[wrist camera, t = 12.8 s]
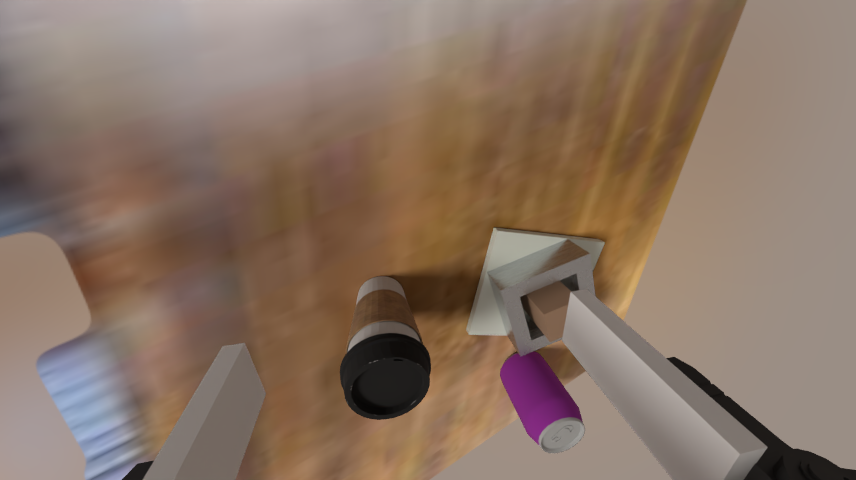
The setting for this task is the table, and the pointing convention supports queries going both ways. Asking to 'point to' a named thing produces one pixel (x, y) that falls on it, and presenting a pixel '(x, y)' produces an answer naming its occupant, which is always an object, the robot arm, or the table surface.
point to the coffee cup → (384, 354)
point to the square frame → (532, 275)
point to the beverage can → (542, 402)
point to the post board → (505, 255)
